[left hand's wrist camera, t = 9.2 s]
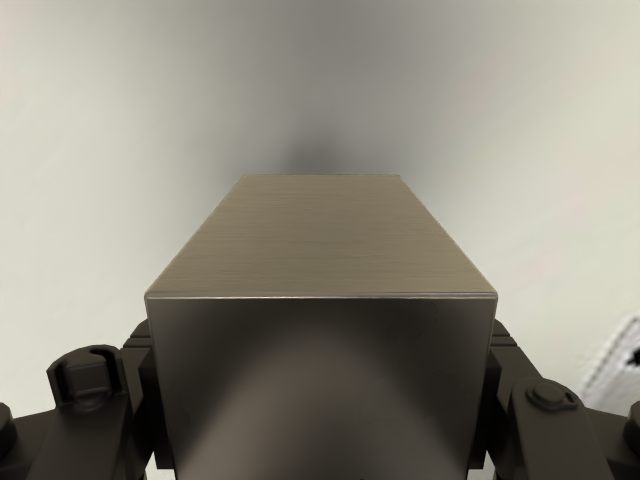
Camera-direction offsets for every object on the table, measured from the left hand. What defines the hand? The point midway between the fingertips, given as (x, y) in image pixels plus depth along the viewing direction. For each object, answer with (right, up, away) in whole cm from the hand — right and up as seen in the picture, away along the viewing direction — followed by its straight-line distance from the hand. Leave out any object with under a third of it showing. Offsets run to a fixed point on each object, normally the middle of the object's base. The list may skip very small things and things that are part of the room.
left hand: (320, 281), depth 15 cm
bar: (0, -7, +3) cm, 8 cm away
